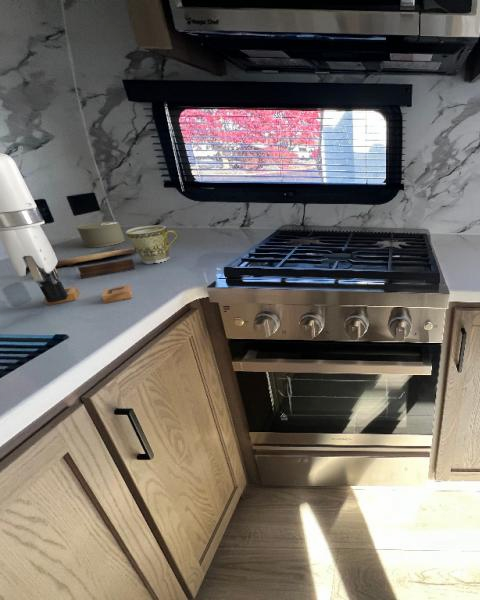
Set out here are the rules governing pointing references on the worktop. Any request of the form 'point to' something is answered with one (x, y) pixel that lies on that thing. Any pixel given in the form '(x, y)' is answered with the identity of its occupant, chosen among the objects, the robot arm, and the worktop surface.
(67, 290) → the tile
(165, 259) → the ceramic cup
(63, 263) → the wooden board
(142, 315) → the worktop surface
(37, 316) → the worktop surface
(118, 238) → the olive green bowl
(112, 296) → the tile
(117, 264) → the dark brown wooden block
